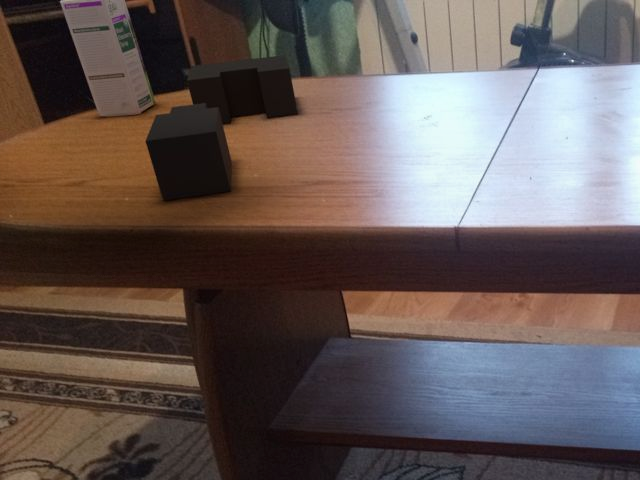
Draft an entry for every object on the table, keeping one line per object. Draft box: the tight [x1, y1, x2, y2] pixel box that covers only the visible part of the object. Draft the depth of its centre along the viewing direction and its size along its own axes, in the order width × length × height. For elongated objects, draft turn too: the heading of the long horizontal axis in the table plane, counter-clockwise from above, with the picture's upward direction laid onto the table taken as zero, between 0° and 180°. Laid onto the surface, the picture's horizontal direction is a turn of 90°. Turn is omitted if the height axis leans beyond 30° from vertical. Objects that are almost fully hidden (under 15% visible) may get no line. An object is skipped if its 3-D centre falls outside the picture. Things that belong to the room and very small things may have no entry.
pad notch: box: [186, 54, 299, 125], centre depth 93 cm, size 12×10×6 cm
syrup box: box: [59, 0, 157, 117], centre depth 96 cm, size 6×6×14 cm
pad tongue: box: [145, 103, 232, 202], centre depth 71 cm, size 6×13×6 cm, turn 15°
